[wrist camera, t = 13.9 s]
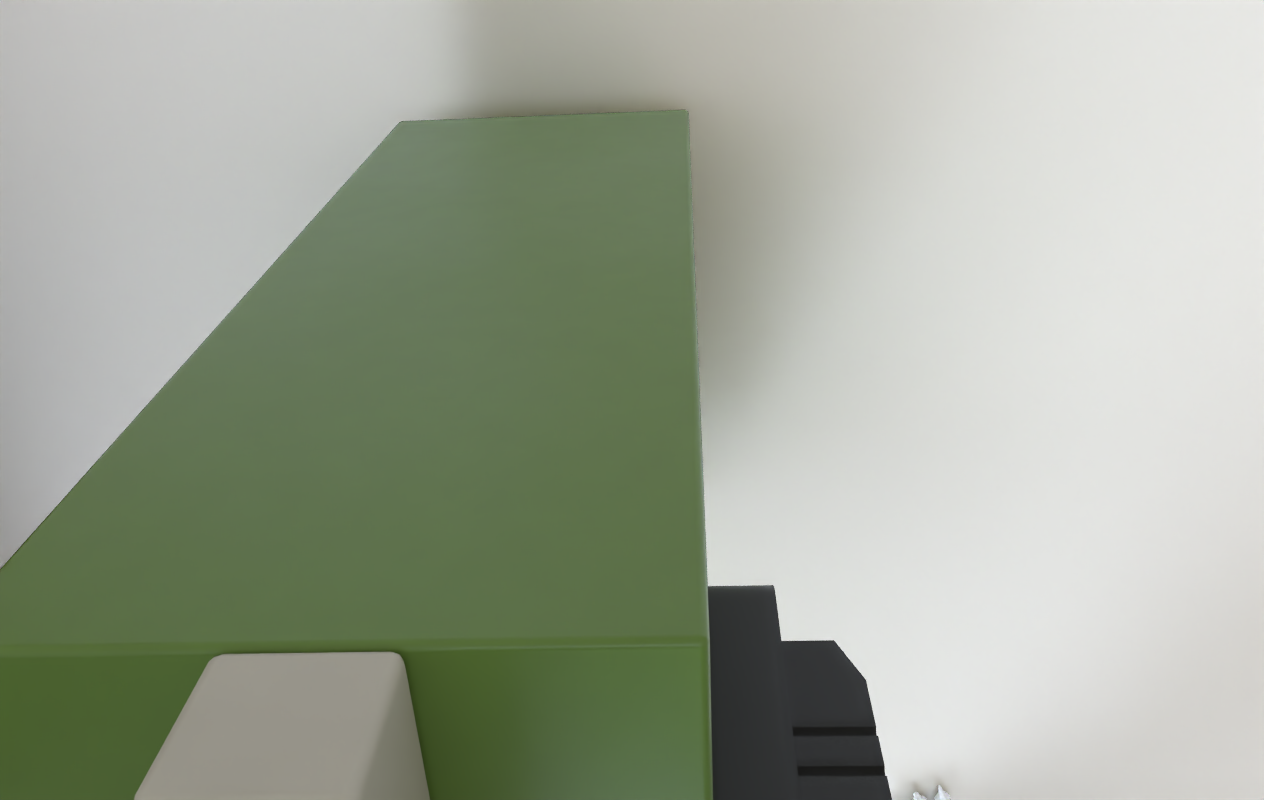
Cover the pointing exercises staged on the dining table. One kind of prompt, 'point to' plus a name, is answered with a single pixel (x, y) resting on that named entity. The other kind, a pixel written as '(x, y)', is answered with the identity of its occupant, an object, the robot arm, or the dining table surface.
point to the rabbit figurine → (940, 798)
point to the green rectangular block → (402, 505)
